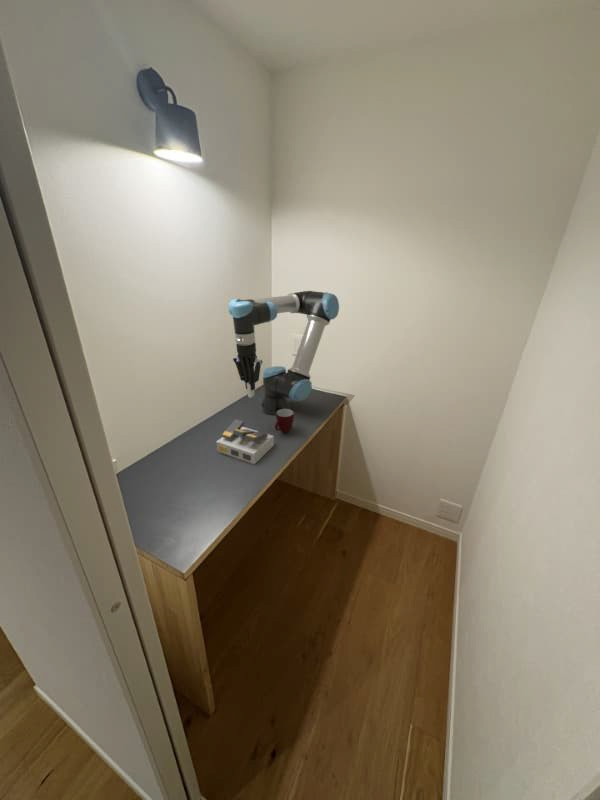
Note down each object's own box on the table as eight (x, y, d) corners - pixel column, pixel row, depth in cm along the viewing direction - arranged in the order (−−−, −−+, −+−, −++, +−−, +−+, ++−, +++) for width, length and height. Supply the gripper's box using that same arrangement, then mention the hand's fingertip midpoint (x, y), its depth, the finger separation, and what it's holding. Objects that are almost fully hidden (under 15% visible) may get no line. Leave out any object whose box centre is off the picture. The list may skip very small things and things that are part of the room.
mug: (284, 440, 142) (284, 421, 138) (270, 435, 146) (269, 416, 142) (296, 429, 150) (296, 411, 146) (282, 425, 154) (282, 407, 150)
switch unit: (238, 434, 146) (237, 421, 143) (273, 445, 138) (273, 432, 135) (217, 451, 134) (215, 438, 131) (253, 464, 126) (252, 450, 123)
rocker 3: (258, 434, 136) (259, 430, 135) (267, 437, 134) (267, 432, 134) (244, 439, 127) (245, 434, 126) (254, 442, 125) (254, 437, 125)
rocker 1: (236, 421, 140) (235, 418, 138) (244, 423, 138) (243, 420, 137) (223, 437, 133) (221, 434, 132) (231, 440, 132) (230, 437, 130)
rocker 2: (246, 432, 138) (247, 428, 138) (255, 435, 136) (255, 430, 136) (233, 433, 129) (234, 429, 129) (241, 436, 127) (242, 432, 127)
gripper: (226, 343, 123) (233, 397, 134) (254, 347, 118) (259, 402, 129) (237, 338, 129) (243, 389, 140) (264, 341, 124) (268, 395, 135)
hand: (251, 396), depth 134 cm, fingers closed
